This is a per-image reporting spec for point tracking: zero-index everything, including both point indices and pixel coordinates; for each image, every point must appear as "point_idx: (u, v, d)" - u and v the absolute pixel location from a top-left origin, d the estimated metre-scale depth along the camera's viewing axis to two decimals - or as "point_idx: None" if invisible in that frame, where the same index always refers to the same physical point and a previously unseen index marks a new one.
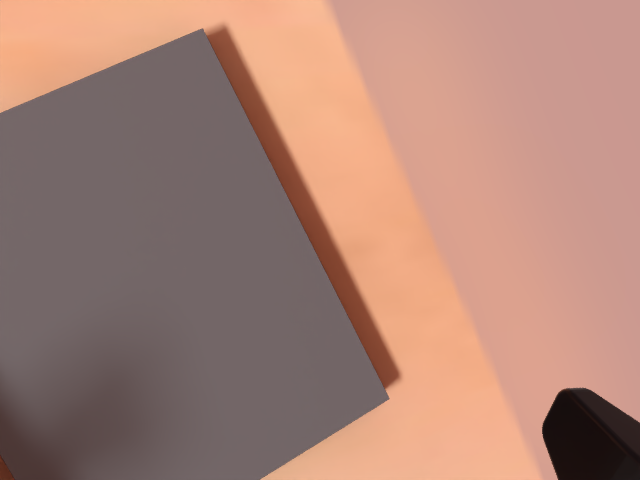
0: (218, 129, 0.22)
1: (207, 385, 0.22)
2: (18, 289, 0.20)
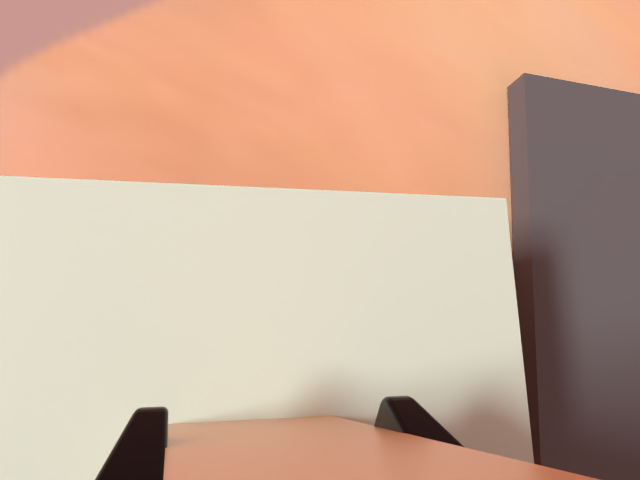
0: None
1: None
2: (618, 252, 0.18)
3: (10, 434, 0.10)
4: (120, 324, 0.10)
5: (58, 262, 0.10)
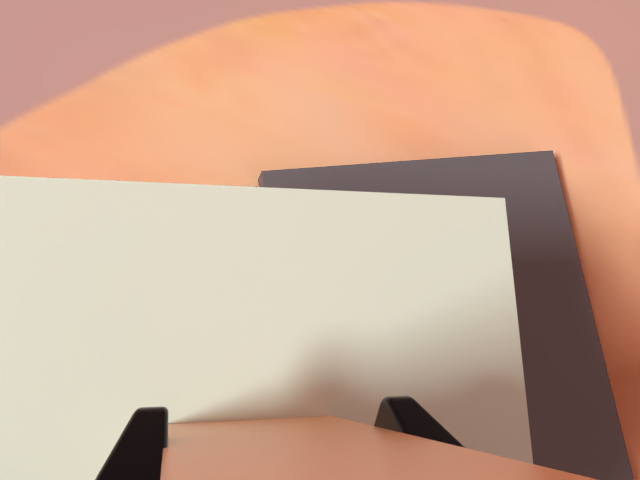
0: (548, 232, 0.25)
1: None
2: None
3: (8, 435, 0.10)
4: (118, 324, 0.10)
5: (56, 262, 0.10)
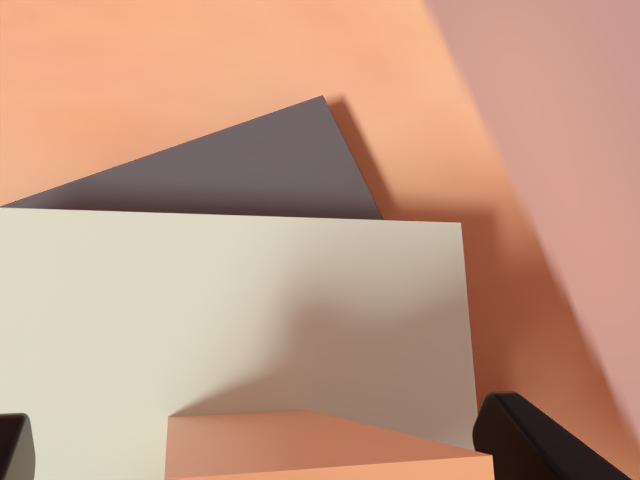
0: None
1: None
2: None
3: (38, 424, 0.12)
4: (129, 333, 0.13)
5: (77, 281, 0.13)
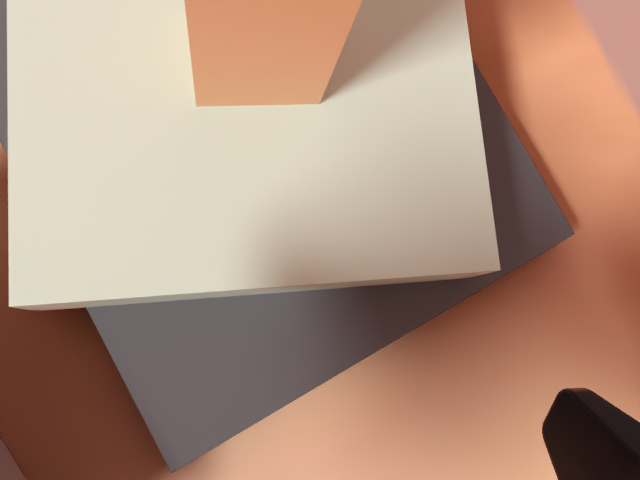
0: None
1: None
2: None
3: (82, 10, 0.14)
4: None
5: None
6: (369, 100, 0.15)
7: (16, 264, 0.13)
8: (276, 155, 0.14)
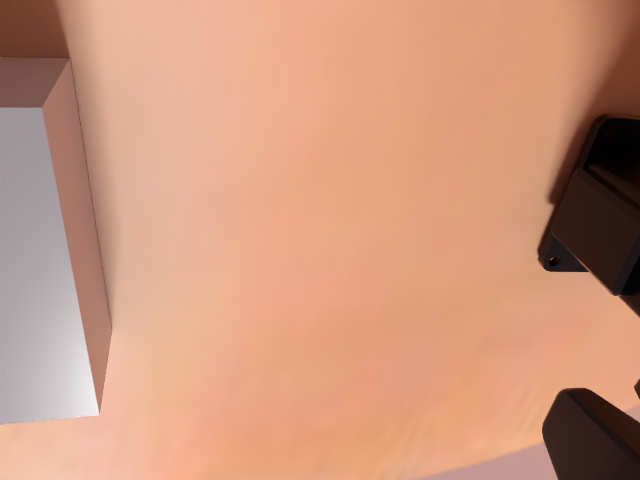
0: None
1: None
2: None
3: None
4: None
5: None
6: None
7: None
8: None
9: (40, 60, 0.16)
